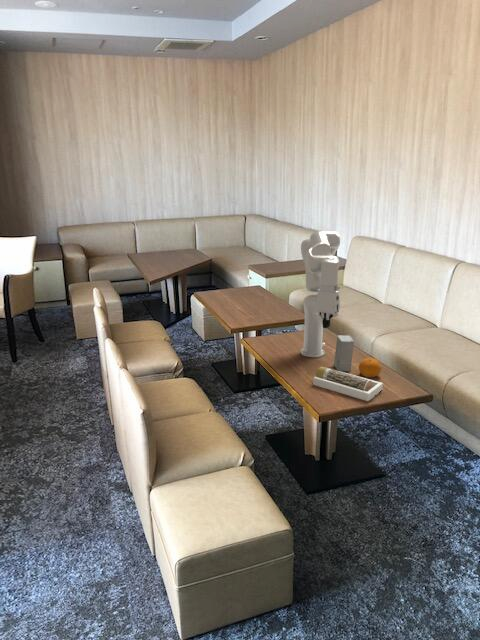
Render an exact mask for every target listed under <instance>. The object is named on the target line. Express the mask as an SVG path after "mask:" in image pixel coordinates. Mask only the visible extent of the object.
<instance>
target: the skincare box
mask: <svg viewBox="0 0 480 640" xmlns="http://www.w3.org/2000/svg"><path fill="white" fill-rule="evenodd" d="M354 346H355V341H354V339H353V338H352V336H350V335H341V334H340V335H337V336H336V344H335V353H334V361H333V366H334V367H335V370H337V371H341V372H350V371H351V370H352V369H351V368H352V362H353V361H352V360H353V355H354V354H353V353H354Z"/></svg>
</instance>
